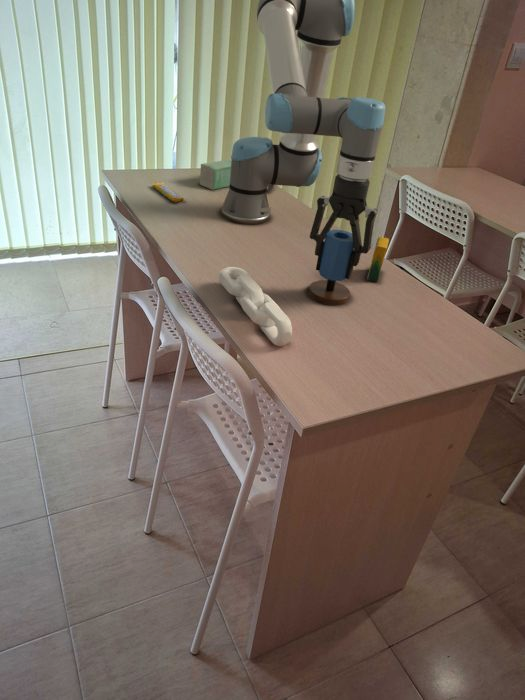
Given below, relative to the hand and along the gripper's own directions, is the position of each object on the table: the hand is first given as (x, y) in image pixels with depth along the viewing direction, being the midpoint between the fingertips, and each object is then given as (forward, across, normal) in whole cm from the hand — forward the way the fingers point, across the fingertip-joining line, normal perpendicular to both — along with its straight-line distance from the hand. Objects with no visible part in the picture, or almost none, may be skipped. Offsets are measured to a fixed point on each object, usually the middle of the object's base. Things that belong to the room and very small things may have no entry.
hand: (333, 272), depth 129 cm
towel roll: (+1, 0, 0) cm, 1 cm away
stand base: (+6, 0, 0) cm, 6 cm away
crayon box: (+6, +7, +18) cm, 20 cm away
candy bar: (+6, -68, +34) cm, 77 cm away
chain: (+6, -12, -19) cm, 23 cm away
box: (+6, -60, +56) cm, 83 cm away
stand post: (+5, 0, 0) cm, 5 cm away
